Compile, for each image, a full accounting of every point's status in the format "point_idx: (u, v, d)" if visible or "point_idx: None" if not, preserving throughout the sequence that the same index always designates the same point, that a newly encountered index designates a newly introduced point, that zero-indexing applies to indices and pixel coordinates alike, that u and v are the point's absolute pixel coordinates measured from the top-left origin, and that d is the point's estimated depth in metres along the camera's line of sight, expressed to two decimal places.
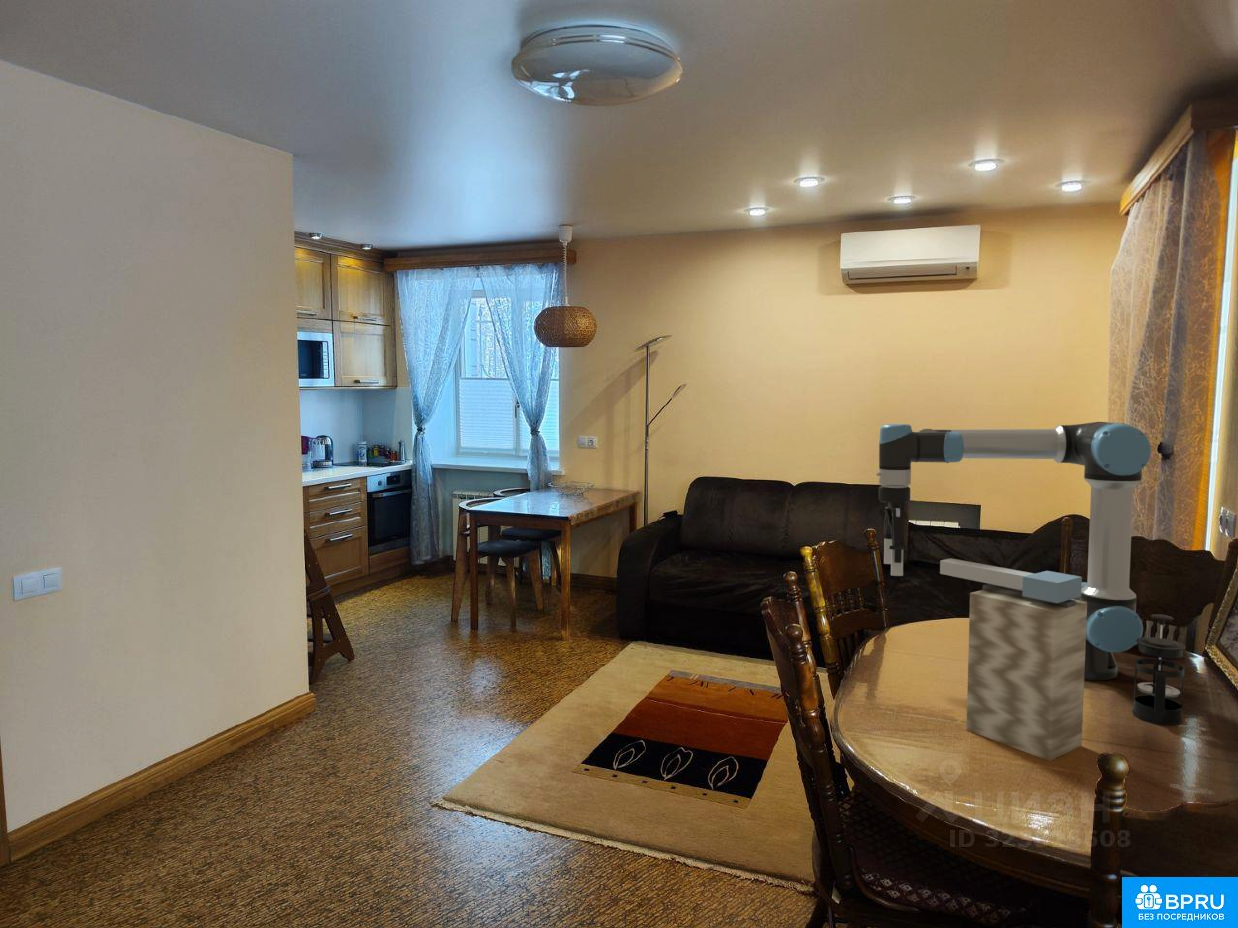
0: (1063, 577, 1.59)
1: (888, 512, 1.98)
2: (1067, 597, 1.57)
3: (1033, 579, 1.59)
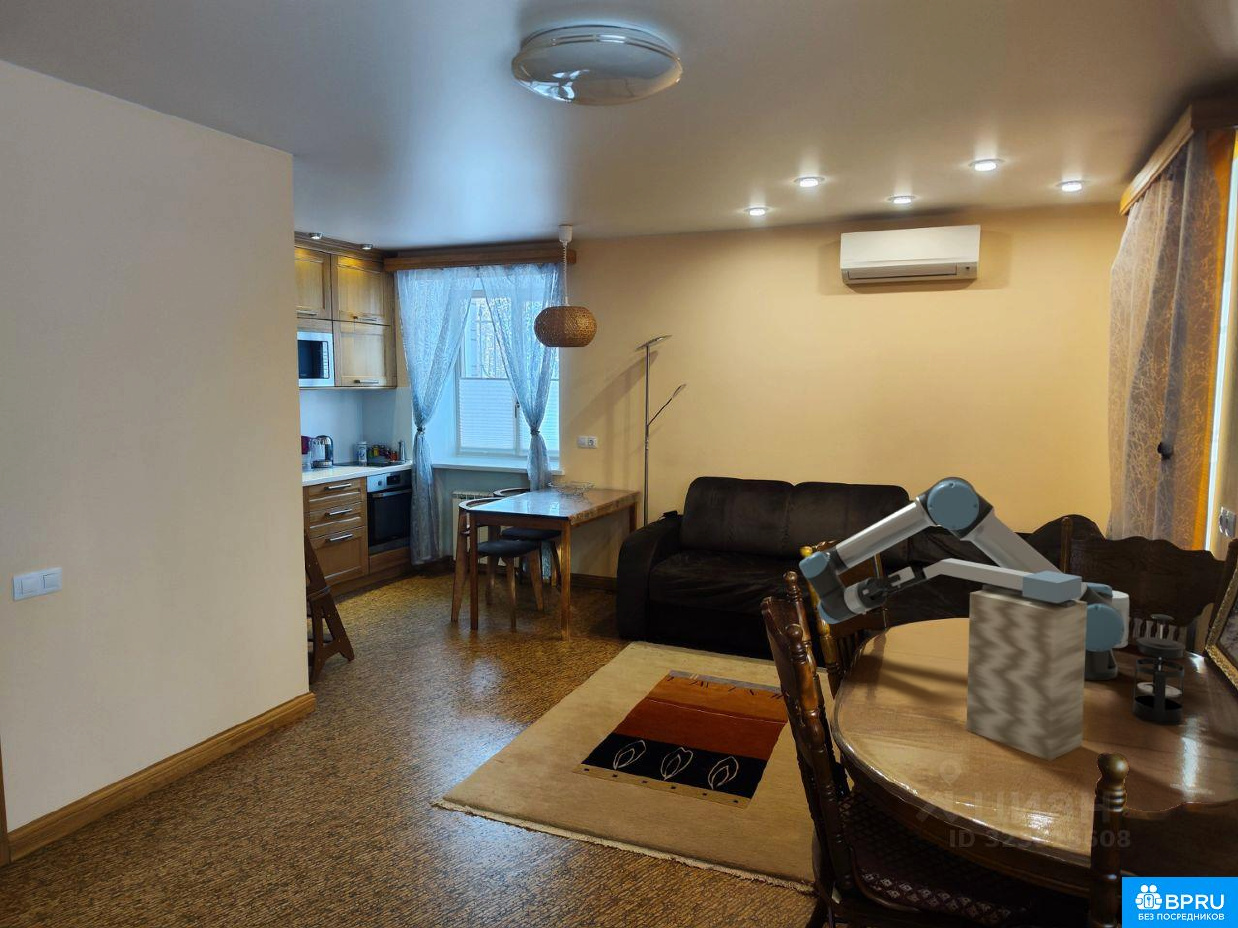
0: (1063, 577, 1.59)
1: (881, 594, 2.03)
2: (1067, 597, 1.57)
3: (1033, 579, 1.59)
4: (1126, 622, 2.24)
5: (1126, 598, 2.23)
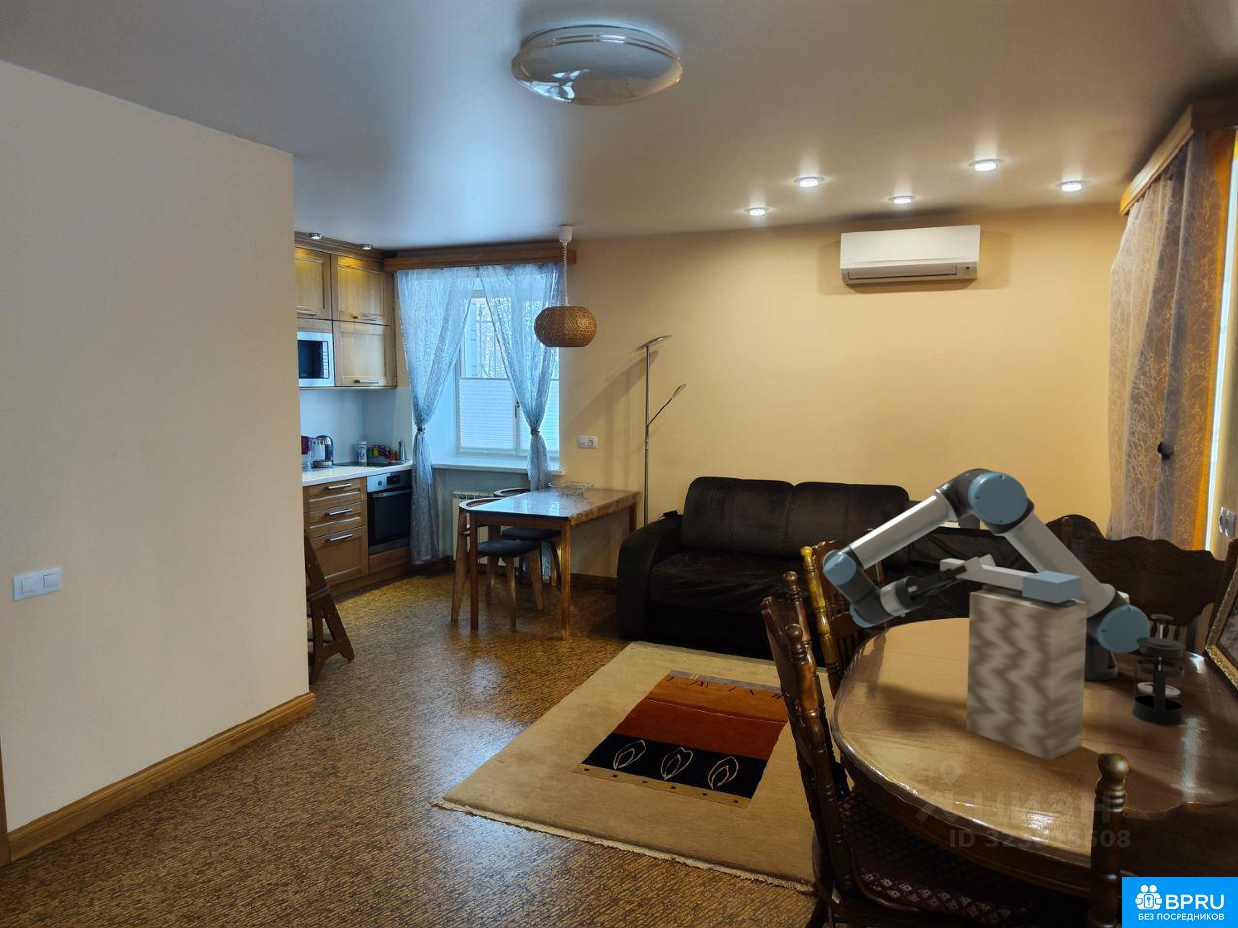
0: (1063, 577, 1.60)
1: (924, 593, 1.83)
2: (1067, 597, 1.57)
3: (1033, 579, 1.59)
4: None
5: (1126, 598, 2.23)
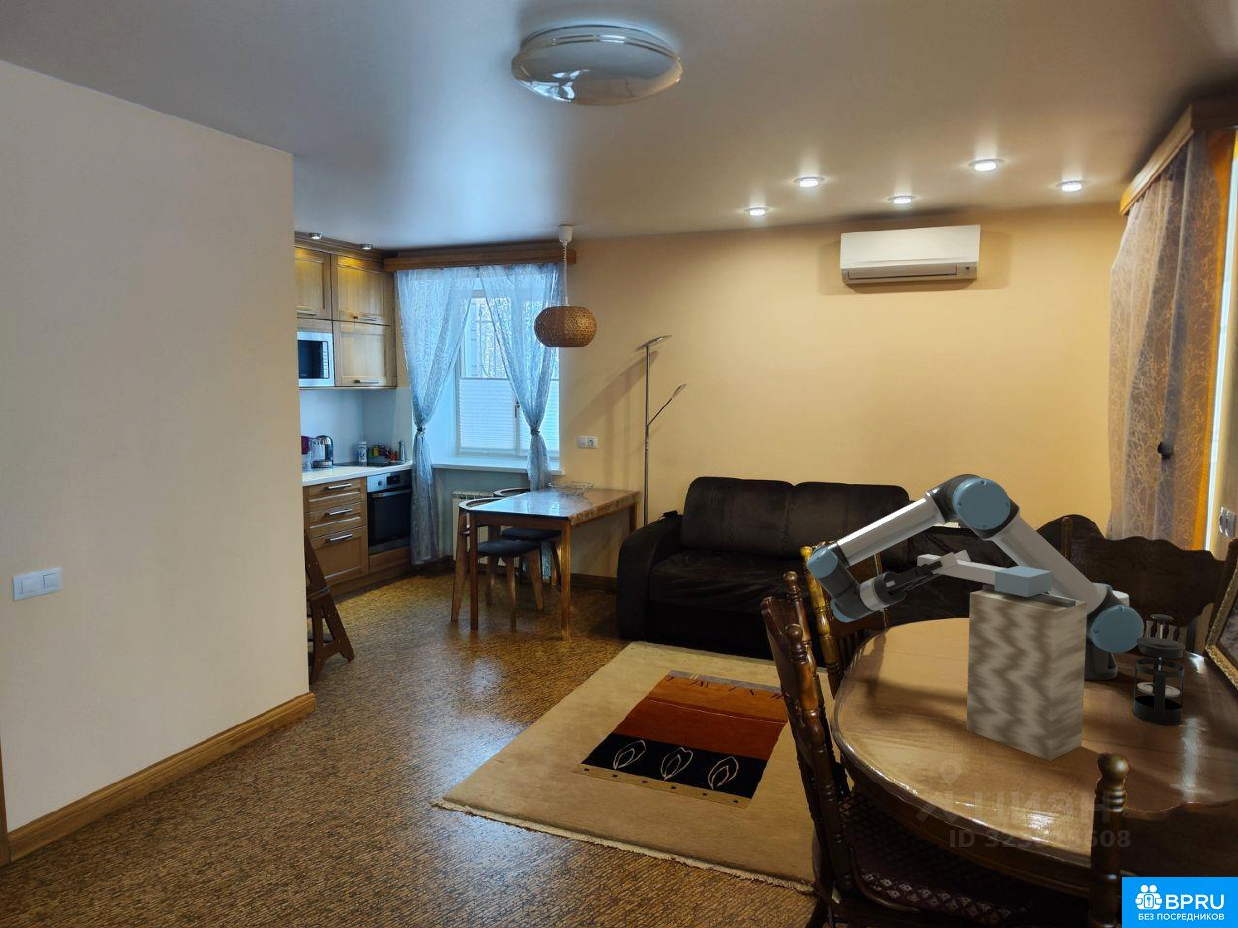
0: (1034, 572, 1.64)
1: (902, 588, 1.88)
2: (1037, 591, 1.62)
3: (1005, 574, 1.64)
4: None
5: (1126, 598, 2.23)
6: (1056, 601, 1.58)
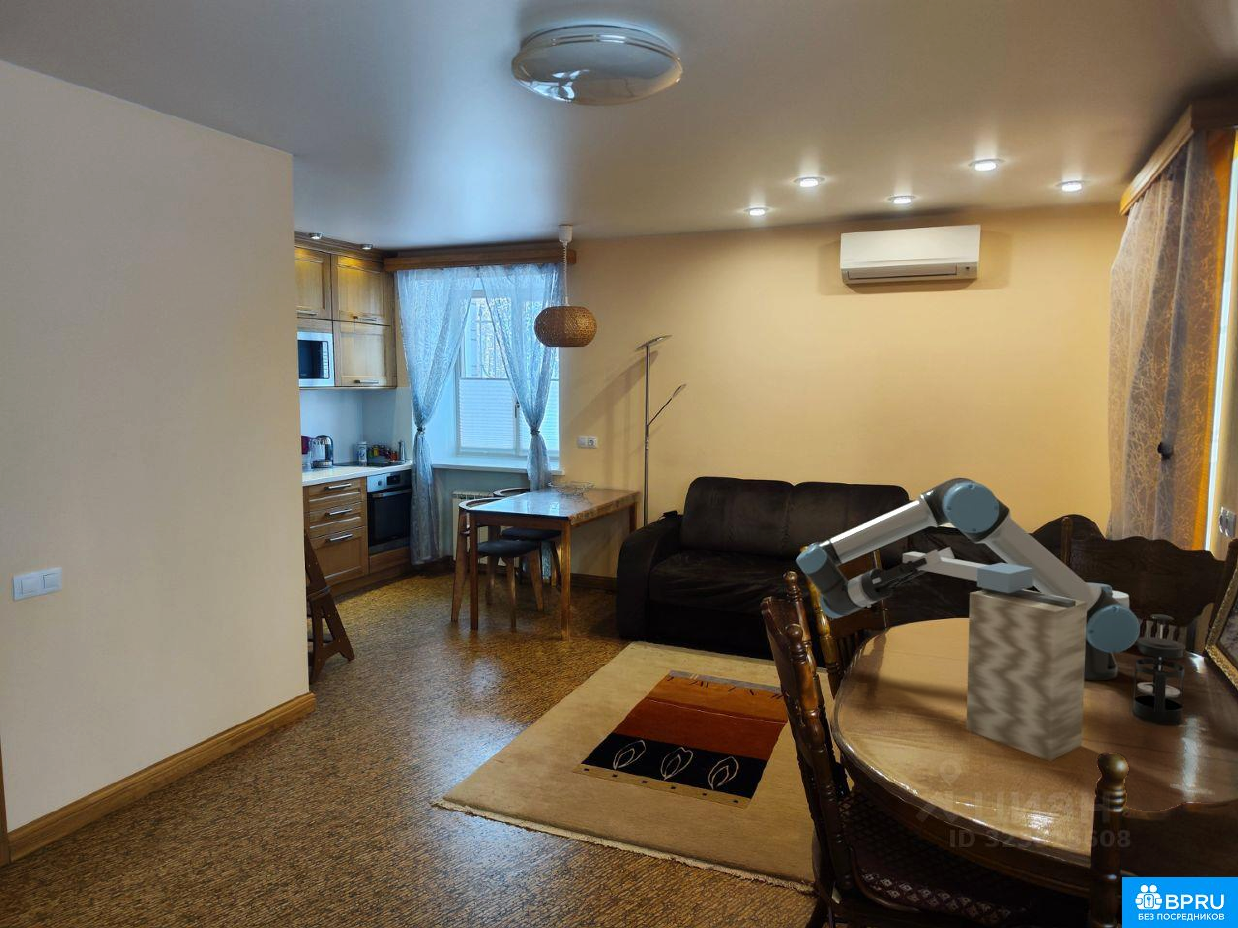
0: (1015, 568, 1.68)
1: (888, 585, 1.91)
2: (1018, 587, 1.66)
3: (986, 570, 1.67)
4: None
5: (1126, 598, 2.23)
6: (1056, 601, 1.58)
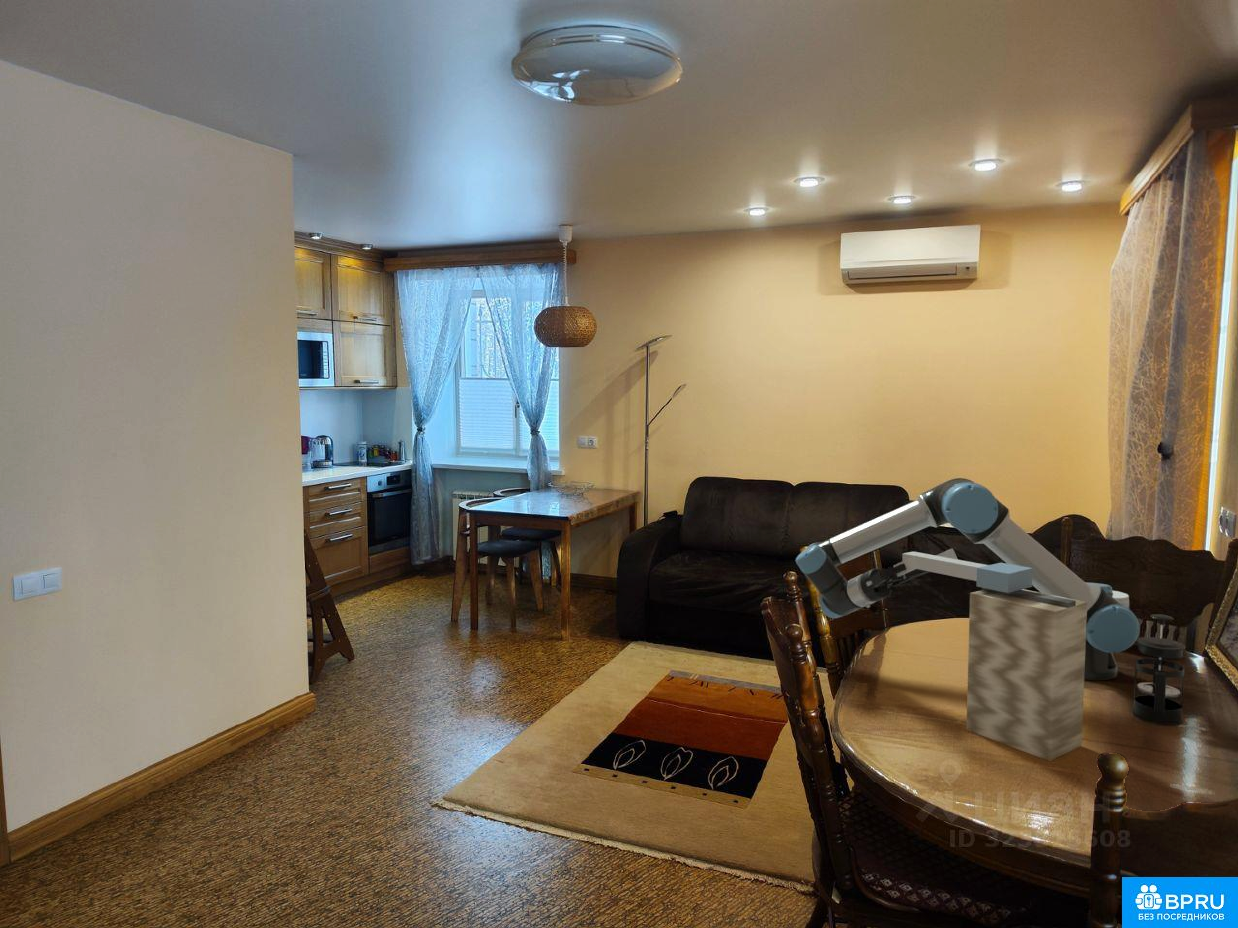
0: (1015, 568, 1.68)
1: (886, 586, 1.92)
2: (1018, 587, 1.66)
3: (986, 570, 1.67)
4: None
5: (1126, 598, 2.23)
6: (1056, 601, 1.58)
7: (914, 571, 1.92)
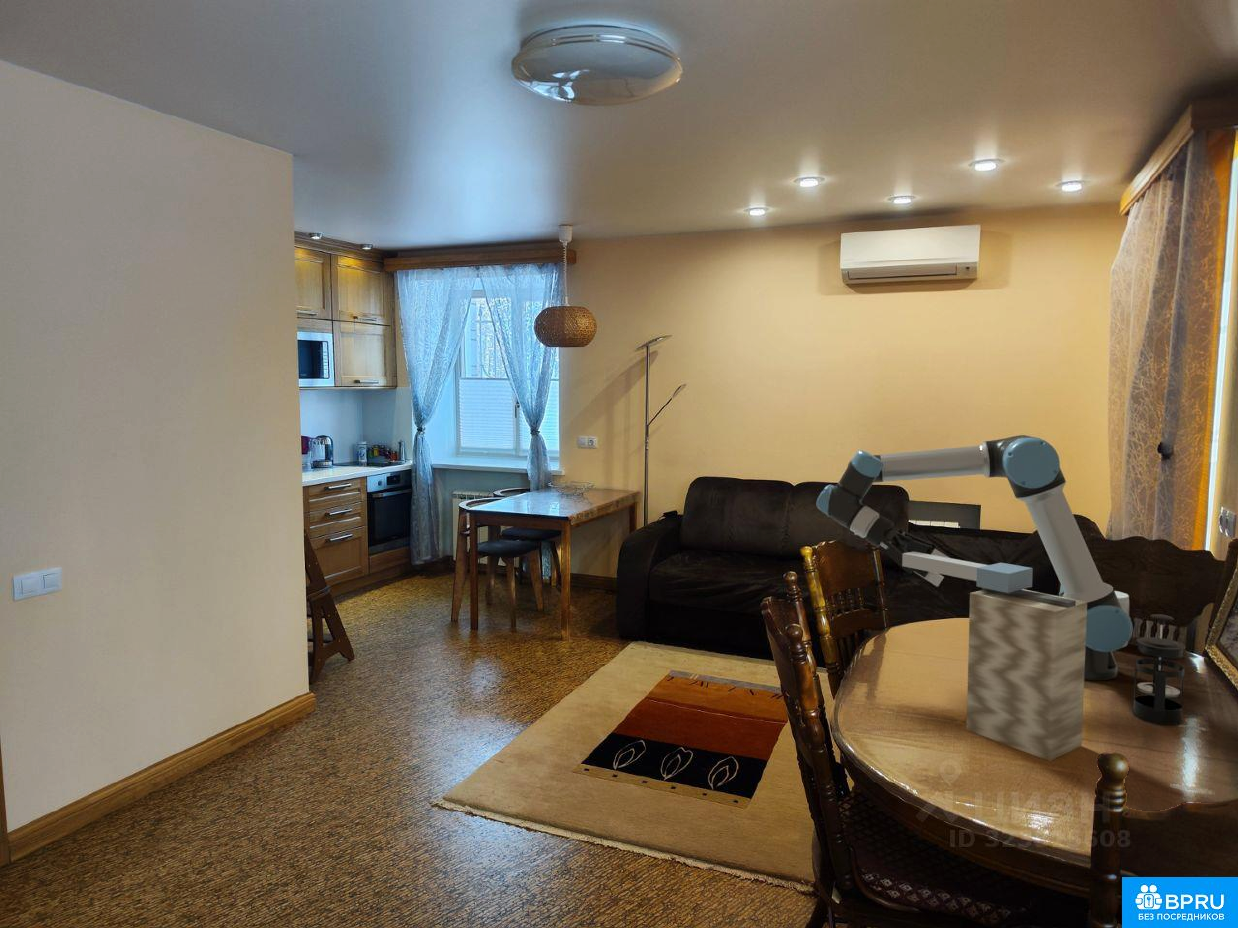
0: (1015, 568, 1.68)
1: None
2: (1018, 587, 1.66)
3: (986, 570, 1.67)
4: None
5: (1126, 598, 2.23)
6: (1056, 601, 1.58)
7: (914, 548, 2.04)
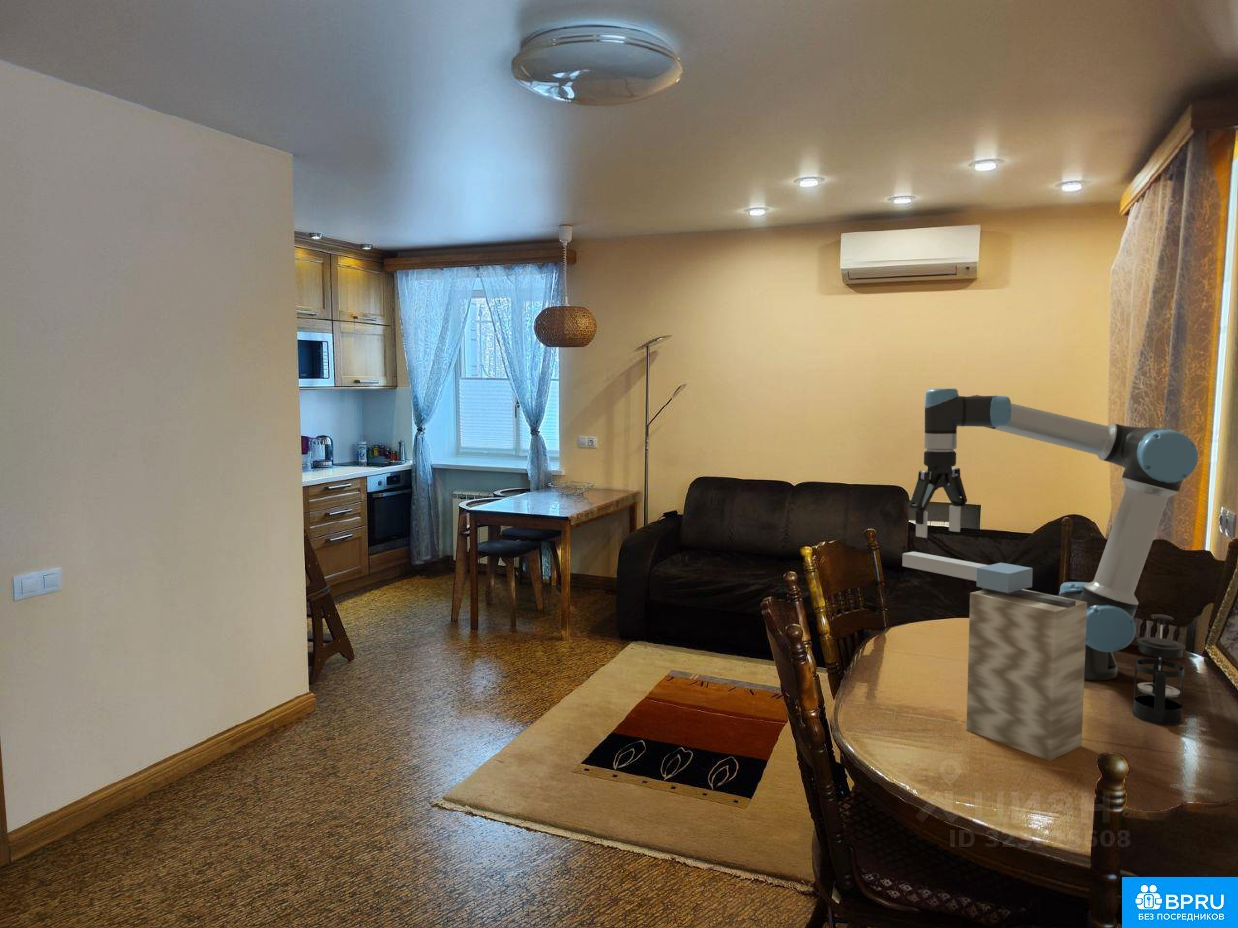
0: (1015, 568, 1.68)
1: None
2: (1018, 587, 1.66)
3: (986, 570, 1.67)
4: None
5: None
6: (1056, 601, 1.58)
7: (948, 491, 2.03)
